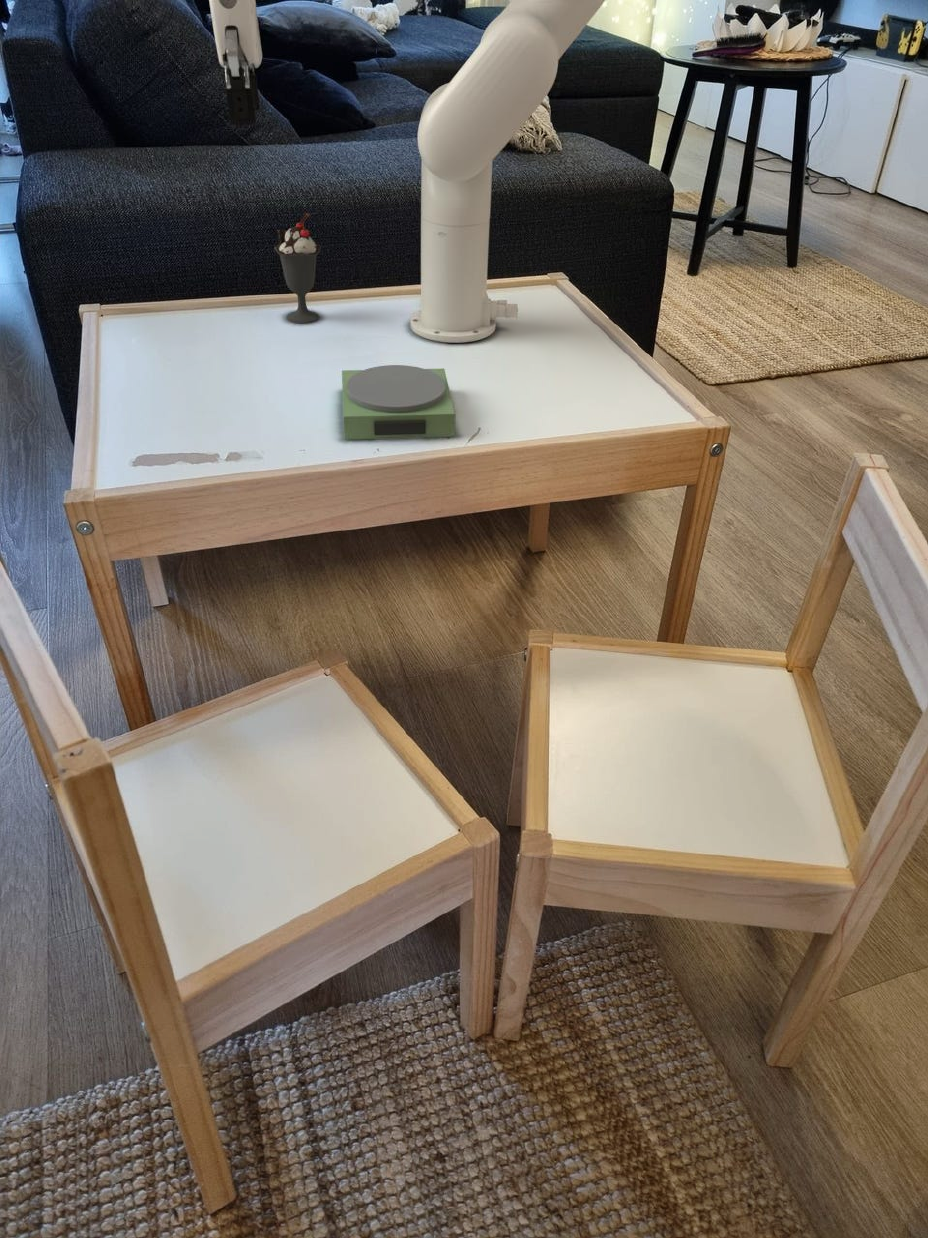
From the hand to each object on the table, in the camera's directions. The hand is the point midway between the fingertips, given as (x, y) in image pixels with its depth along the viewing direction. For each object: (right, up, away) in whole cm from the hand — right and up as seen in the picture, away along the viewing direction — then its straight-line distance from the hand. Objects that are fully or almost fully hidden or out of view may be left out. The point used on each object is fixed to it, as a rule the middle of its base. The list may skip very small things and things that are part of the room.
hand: (245, 116), depth 119 cm
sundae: (+4, -20, +18) cm, 28 cm away
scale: (+20, -40, -6) cm, 45 cm away
